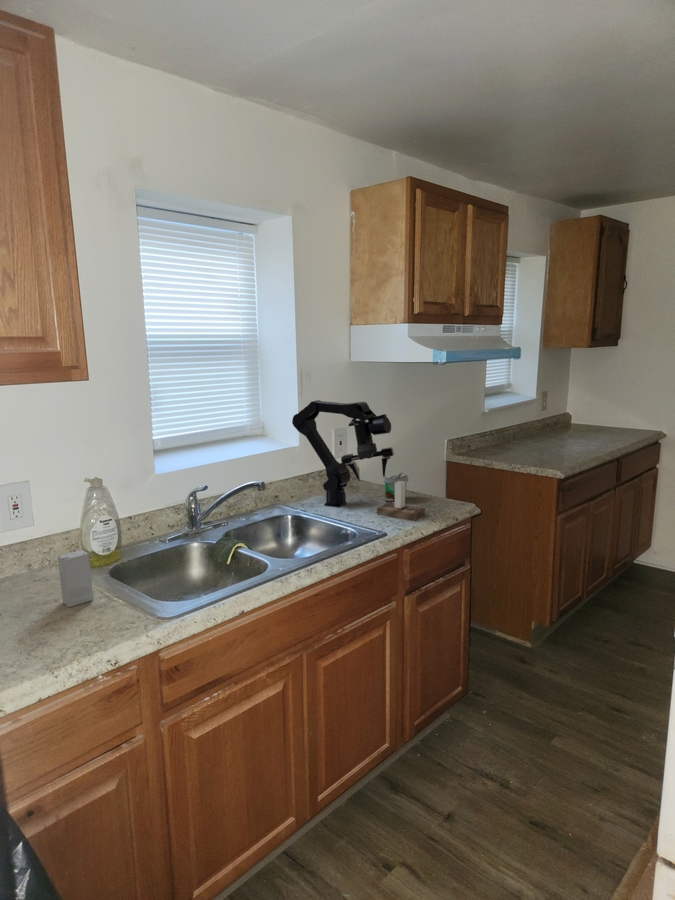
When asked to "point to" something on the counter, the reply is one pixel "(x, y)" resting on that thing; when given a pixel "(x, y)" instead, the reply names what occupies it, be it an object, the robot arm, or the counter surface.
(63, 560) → the skincare box
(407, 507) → the console
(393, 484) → the food container
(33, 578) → the counter surface
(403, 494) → the fader
